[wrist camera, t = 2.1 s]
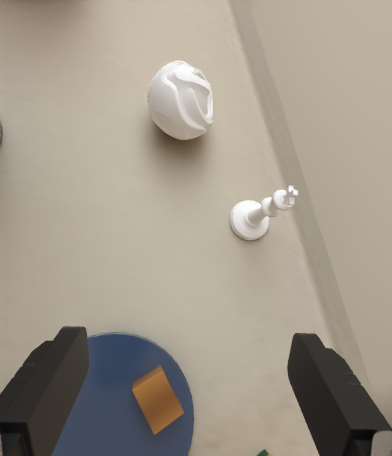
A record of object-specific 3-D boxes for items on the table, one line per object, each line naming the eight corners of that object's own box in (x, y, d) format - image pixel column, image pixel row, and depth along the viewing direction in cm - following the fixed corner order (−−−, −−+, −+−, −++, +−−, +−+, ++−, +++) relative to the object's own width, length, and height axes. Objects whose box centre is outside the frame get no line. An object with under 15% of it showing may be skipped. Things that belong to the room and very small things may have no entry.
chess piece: (229, 238, 32) (270, 217, 22) (229, 199, 33) (268, 162, 23) (267, 241, 33) (322, 222, 23) (266, 203, 34) (318, 169, 24)
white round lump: (206, 155, 33) (226, 117, 26) (144, 148, 32) (147, 105, 24) (206, 100, 35) (225, 50, 28) (147, 90, 33) (151, 34, 26)
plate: (-33, 435, 22) (-40, 442, 21) (117, 297, 27) (116, 297, 26) (96, 576, 22) (95, 589, 21) (223, 411, 27) (226, 416, 26)
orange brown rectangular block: (132, 382, 25) (131, 390, 23) (160, 363, 26) (162, 369, 24) (152, 424, 25) (154, 435, 23) (180, 404, 26) (184, 413, 24)
